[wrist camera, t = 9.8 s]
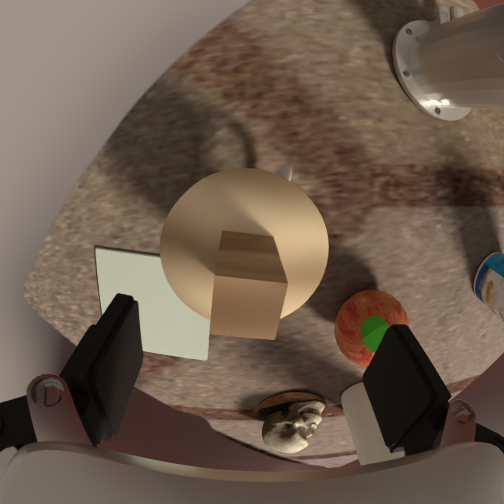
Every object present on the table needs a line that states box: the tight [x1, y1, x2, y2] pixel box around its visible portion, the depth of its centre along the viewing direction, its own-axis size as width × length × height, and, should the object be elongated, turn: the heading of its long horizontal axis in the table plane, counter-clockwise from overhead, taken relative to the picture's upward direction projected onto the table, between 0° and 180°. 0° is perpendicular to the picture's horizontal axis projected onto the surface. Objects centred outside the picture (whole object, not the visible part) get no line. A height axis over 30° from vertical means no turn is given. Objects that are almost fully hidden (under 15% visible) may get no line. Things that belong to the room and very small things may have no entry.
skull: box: [254, 391, 328, 453], centre depth 40 cm, size 12×10×10 cm
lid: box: [160, 168, 329, 340], centre depth 16 cm, size 11×11×7 cm
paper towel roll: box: [341, 382, 404, 465], centre depth 31 cm, size 7×6×21 cm
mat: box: [96, 247, 210, 360], centre depth 33 cm, size 14×14×1 cm
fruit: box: [334, 290, 408, 367], centre depth 29 cm, size 9×10×10 cm
